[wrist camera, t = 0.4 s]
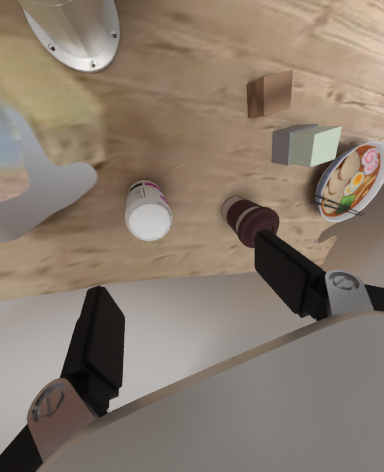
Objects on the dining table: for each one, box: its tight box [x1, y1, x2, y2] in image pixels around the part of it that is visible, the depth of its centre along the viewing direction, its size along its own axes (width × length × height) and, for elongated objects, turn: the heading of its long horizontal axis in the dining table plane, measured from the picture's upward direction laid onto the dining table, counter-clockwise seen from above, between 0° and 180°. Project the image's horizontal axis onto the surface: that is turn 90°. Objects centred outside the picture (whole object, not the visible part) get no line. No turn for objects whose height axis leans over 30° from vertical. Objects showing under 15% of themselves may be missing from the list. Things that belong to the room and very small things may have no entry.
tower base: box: [272, 124, 318, 165], centre depth 44 cm, size 7×7×6 cm
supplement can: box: [125, 180, 173, 241], centre depth 37 cm, size 8×8×15 cm
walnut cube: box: [247, 70, 293, 118], centre depth 37 cm, size 6×6×6 cm
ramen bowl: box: [311, 140, 384, 222], centre depth 53 cm, size 25×23×8 cm
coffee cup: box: [222, 197, 279, 248], centre depth 45 cm, size 10×10×15 cm
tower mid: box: [290, 126, 342, 167], centre depth 39 cm, size 6×6×6 cm
